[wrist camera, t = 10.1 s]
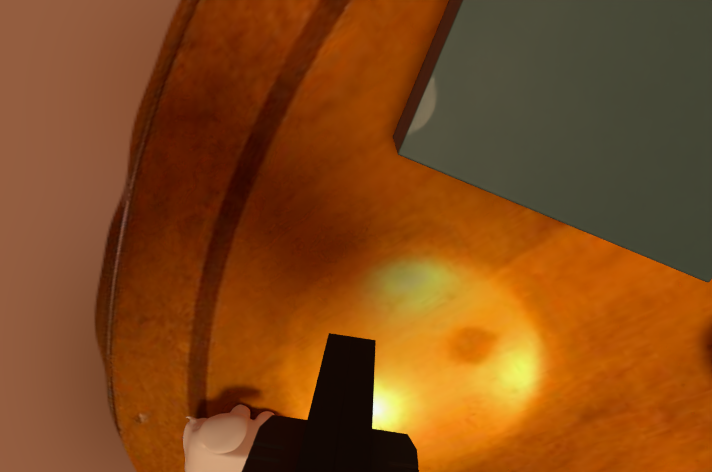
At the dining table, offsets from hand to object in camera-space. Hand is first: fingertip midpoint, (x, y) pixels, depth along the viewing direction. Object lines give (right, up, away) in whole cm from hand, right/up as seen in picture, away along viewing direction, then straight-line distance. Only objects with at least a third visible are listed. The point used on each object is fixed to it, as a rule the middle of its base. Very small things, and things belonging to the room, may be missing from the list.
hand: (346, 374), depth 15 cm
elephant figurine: (-8, -9, +20) cm, 23 cm away
